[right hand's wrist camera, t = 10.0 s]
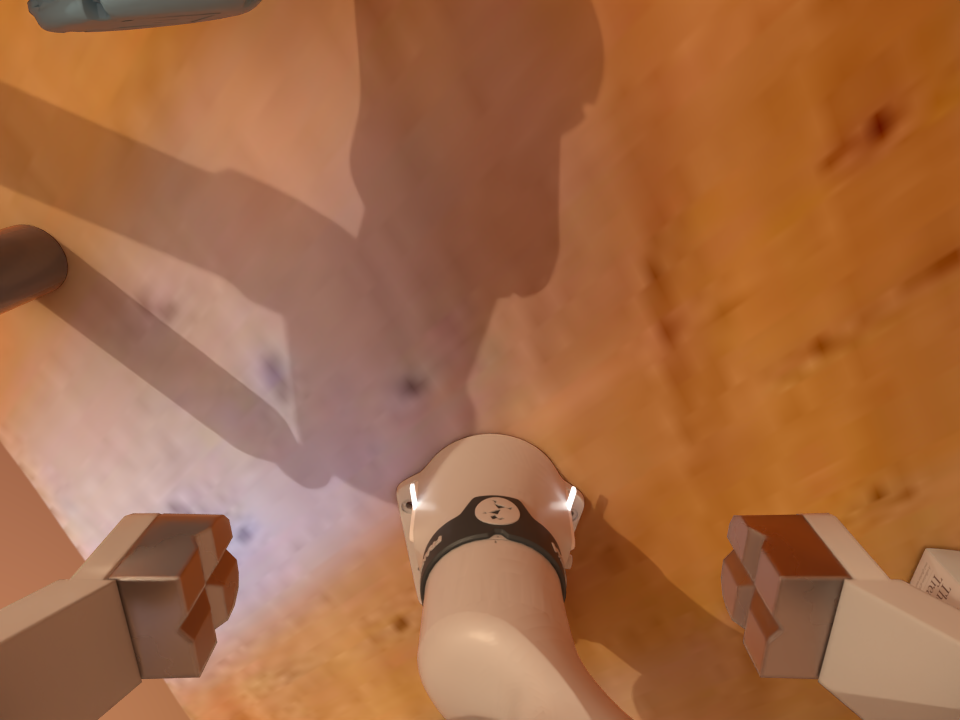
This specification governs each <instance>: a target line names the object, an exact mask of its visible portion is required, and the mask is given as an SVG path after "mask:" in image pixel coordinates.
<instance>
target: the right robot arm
mask: <svg viewBox="0 0 960 720" xmlns="http://www.w3.org/2000/svg"><path fill="white" fill-rule="evenodd" d="M396 498H397V503H398V508H399V512H400V517H401V522H402V526H403V531H404V536H405V540H406V545H407V550H408V554H409V559H410V564H411V569H412V573H413V578H414V583H415V587H416V592H417V596H418V600H419V602H420V603H421V604H422V605H423V612H422V621H421V629H420V638H419V647H418V657H417V661H418V669H419V674H420V678H421V681H422V684H423V686H424V688H425V690H426V692H427V694H428V695H429V697H430V699H431V700H432V702H433V703H434V705H435V706H436V708H437V709H438V710H439V712H440V713H441V714H442V715H443V717H444V718H445V719H446V720H633V719H632V718H631V717H630V716H628V715H627V714H626V713H625V712H624V711H623V710H622V709H621V708H620V707H619V706H618V705H616V704H615V703H614V702H613V701H612V700H611V699H610V698H609V696H608V695H607V694H606V693H605V692H604V691H603V690H602V689H601V688H600V686H599V685H598V684H597V683H596V681H595V680H594V679H593V678H592V676H591V675H590V674H589V672H588V671H587V669H586V668H585V666H584V665H583V663H582V661H581V659H580V657H579V656H578V653H577V651H576V648H575V645H574V641H573V638H572V634H571V631H570V627H569V623H568V619H567V615H566V610H565V606H564V602H565V598H566V585H567V578H566V572H565V569H570V568H571V566H572V560H573V558H572V555H571V554H570V551H571V550H573V549H574V548H575V537H574V532H575V530H576V527H577V524H578V522H579V519H580V517H581V514H582V512H583V509H584V497H583V495H582V493H581V492H580V491H579V490H578V489H576V488H575V487H573V486H572V485H571V484H569V483H567V482H566V481H564V480H563V479H562V477H561V476H560V475H559V473H558V471H557V470H556V468H555V466H554V465H553V463H552V462H551V461H550V460H549V458H548V457H547V456H546V455H545V454H544V453H543V452H542V451H540V450H539V449H538V448H536V447H535V446H533V445H532V444H530V443H528V442H526V441H524V440H521V439H519V438H516V437H512V436H508V435H502V434H480V435H474V436H470V437H466V438H463V439H460V440H458V441H456V442H454V443H452V444H450V445H448V446H447V447H445V448H444V449H443V450H441V451H440V452H439V453H438V454H437V455H436V456H435V457H434V458H433V459H432V460H431V461H430V462H429V464H428V465H427V466H426V467H425V468H424V469H423V470H422V471H421V472H420V473H418V474H416V475H414V476H412V477H409V478H408V479H406V480H404V481H403V482H401V483H400V484H399V485H398V487H397V491H396ZM407 502H412V504H413V505H409V504H408V503H407ZM571 511H572V512H571ZM232 537H233V536H232V531H231V526H230V522H229V519H228V518H227V517H226V516H224V515H212V514H165V513H164V514H159V513H133V514H130V515H127V516H125V517H124V518H123V519H122V520H121V521H120V522H119V523H118V524H117V525H116V527H115V528H114V529H113V530H112V531H111V532H110V533H109V535H108V536H107V537H106V538H105V539H104V540H103V542H102V543H101V544H100V545H99V546H98V547H97V548H96V550H95V551H94V552H93V553H92V554H91V555H90V556H89V558H88V559H87V560H86V561H85V562H84V563H83V564H82V566H81V567H80V568H79V569H78V570H77V571H76V572H75V574H74V575H73V576H72V577H71V578H70V579H69V580H57V581H55V582H53V583H52V584H50V585H48V586H46V587H44V588H42V589H40V590H38V591H36V592H34V593H32V594H30V595H28V596H26V597H24V598H22V599H20V600H18V601H16V602H14V603H12V604H10V605H8V606H7V607H5V608H2V609H1V610H0V720H98V719H99V718H100V717H101V716H103V715H104V714H105V713H106V712H107V711H108V710H110V709H111V708H112V707H113V706H114V705H115V704H117V703H118V702H119V701H120V700H121V699H123V698H124V697H125V696H126V695H127V694H128V693H130V692H131V691H132V690H133V689H134V688H135V687H137V686H138V685H139V684H140V683H141V682H142V680H141V679H158V678H193V677H200V676H201V674H202V672H203V670H204V668H205V666H206V664H207V662H208V660H209V658H210V656H211V654H212V652H213V650H214V648H215V646H216V643H217V639H216V633H215V629H216V628H217V627H219V626H220V625H222V624H223V623H224V622H226V621H227V620H228V619H229V617H230V615H231V612H232V610H233V608H234V606H235V601H236V597H237V592H238V588H239V572H238V565H237V560H236V559H235V558H234V557H233V556H232V555H231V554H230V553H229V552H228V551H227V550H226V548H227V546H228V545H229V543H230V541H231V539H232ZM727 537H728V539H729V541H730V543H731V545H732V546H733V548H734V550H733V551H732V552H731V553H730V554H729V555H728V556H727V557H726V558H725V559H724V560H723V566H722V574H721V583H722V594H723V598H724V602H725V605H726V608H727V610H728V612H729V615H730V617H731V619H732V620H733V621H734V622H736V623H737V624H738V625H740V626H741V627H742V628H744V629H745V633H744V639H743V644H744V646H745V648H746V650H747V652H748V654H749V656H750V658H751V660H752V662H753V664H754V666H755V668H756V670H757V672H758V674H759V676H760V677H765V678H800V679H819V680H818V682H819V683H820V684H821V685H822V686H824V687H825V688H826V689H827V690H828V691H830V692H831V693H832V694H833V695H834V696H835V697H837V698H838V699H839V700H840V701H841V702H842V703H844V704H845V705H846V706H847V707H848V708H849V709H851V710H852V711H853V712H854V713H855V714H857V715H858V716H859V717H860V718H861V719H862V720H960V610H959V609H957V608H955V607H953V606H951V605H950V604H948V603H946V602H944V601H942V600H940V599H938V598H936V597H934V596H932V595H930V594H928V593H926V592H924V591H922V590H920V589H918V588H916V587H914V586H912V585H910V584H908V583H907V582H905V581H903V580H891V579H890V578H889V577H888V576H887V575H886V574H885V572H884V571H883V570H882V569H881V568H880V567H879V566H878V564H877V563H876V562H875V561H874V560H873V559H872V558H871V556H870V555H869V554H868V553H867V552H866V551H865V550H864V548H863V547H862V546H861V545H860V544H859V543H858V542H857V540H856V539H855V538H854V537H853V536H852V535H851V534H850V532H849V531H848V530H847V529H846V528H845V527H844V526H843V524H842V523H841V522H840V521H839V520H838V519H837V517H835V516H833V515H831V514H829V513H811V514H796V515H735V516H733V518H732V520H731V522H730V525H729V530H728V535H727Z"/></svg>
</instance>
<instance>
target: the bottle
mask: <svg viewBox="0 0 960 720" xmlns="http://www.w3.org/2000/svg"><path fill="white" fill-rule="evenodd" d="M66 275H67V260H66V257H65V254H64V252H63V250H62V248H61V247H60V245H59V244H58V243H57V241H56V240H55V239H54V238H53V237H52V236H50V235H49V234H48V233H46V232H45V231H43V230H41V229H39V228H36V227H34V226H30V225H14V226H11V227H7V228H3V229H0V315H1V314H3V313H5V312H7V311H10V310H12V309H14V308H16V307H19V306H21V305H23V304H25V303H28V302H30V301H32V300H34V299H37V298H39V297H41V296H43V295H45V294H48V293H50V292H52V291H54V290H56V289H57V288H59V287H60V286H61V285H62V283H63V282H64V280H65V278H66Z"/></svg>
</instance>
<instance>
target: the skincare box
mask: <svg viewBox="0 0 960 720" xmlns="http://www.w3.org/2000/svg"><path fill="white" fill-rule="evenodd" d="M910 585H912V586H914V587H916V588H918V589H920V590H922V591H924V592H926V593H928V594H930V595H932V596H934V597H936V598H938V599H940V600H942V601H944V602H946V603H948V604H950V605H951V606H953V607H955V608H957V609H959V610H960V551H955V550H946V549H934V548H926V549H925V551H924V553H923V555H922V557H921V560H920V562H919V564H918V566H917V568H916V571H915V573H914V575H913V577H912V579H911V582H910Z"/></svg>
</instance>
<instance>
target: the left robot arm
mask: <svg viewBox="0 0 960 720" xmlns="http://www.w3.org/2000/svg"><path fill="white" fill-rule="evenodd" d="M260 2H261V0H30V1H28V3H27V4H28V9H29V12H30V13H31V14H32V15H33V16H34V17H35V18H36V20H37V22H38V24H39V25H40V26H41V27H42V28H43V29H45V30H47V31H50V32H57V33H65V32H70V31H73V32H102V31H117V30H130V29H142V28H152V27H162V26H171V25H179V24H187V23H195V22H202V21H209V20H215V19H221V18H226V17H231V16H236V15H240V14H243V13H246V12H248V11H250V10H252V9H253V8H255V7H256V6H257V5H258V4H259V3H260Z"/></svg>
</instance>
